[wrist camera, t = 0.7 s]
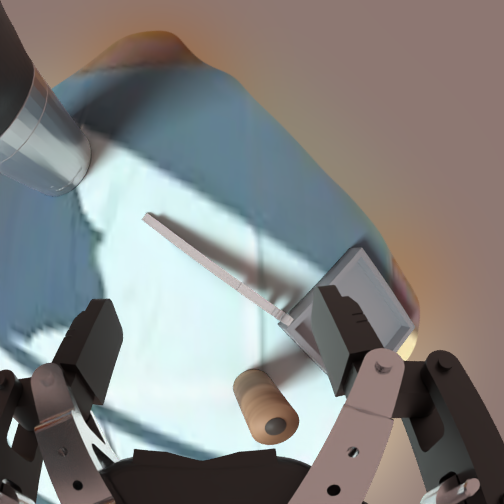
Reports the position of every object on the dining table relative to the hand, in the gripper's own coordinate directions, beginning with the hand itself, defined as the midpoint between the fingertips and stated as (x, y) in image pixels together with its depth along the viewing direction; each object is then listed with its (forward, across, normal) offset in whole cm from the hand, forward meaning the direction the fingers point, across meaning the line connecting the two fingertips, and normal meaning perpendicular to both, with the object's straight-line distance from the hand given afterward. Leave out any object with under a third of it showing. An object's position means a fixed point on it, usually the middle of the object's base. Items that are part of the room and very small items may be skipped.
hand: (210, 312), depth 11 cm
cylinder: (+14, -2, +24) cm, 28 cm away
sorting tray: (+18, -16, +20) cm, 31 cm away
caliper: (+21, +2, +10) cm, 23 cm away
